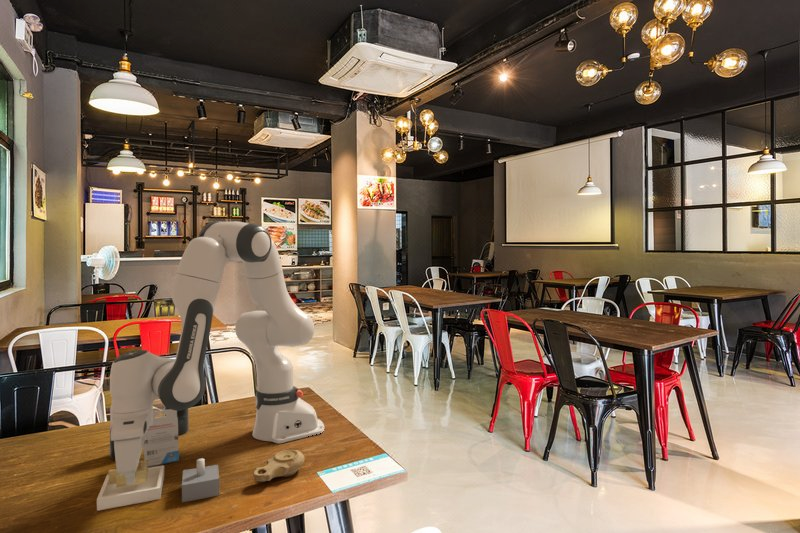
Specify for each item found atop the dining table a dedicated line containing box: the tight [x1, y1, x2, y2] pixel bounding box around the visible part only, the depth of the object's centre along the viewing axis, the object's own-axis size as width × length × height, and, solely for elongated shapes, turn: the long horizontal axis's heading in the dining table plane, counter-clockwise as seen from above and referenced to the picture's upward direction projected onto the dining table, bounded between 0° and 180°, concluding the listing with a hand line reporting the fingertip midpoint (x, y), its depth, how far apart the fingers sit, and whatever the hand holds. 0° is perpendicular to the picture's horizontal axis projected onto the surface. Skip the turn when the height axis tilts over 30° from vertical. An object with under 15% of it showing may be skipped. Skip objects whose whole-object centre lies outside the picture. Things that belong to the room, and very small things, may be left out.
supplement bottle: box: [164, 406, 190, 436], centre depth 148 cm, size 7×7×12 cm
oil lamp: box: [252, 449, 305, 482], centre depth 119 cm, size 11×14×5 cm
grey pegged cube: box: [181, 457, 220, 503], centre depth 112 cm, size 8×8×8 cm
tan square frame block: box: [108, 459, 149, 488], centre depth 111 cm, size 8×6×3 cm
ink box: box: [143, 409, 180, 468], centre depth 128 cm, size 9×5×15 cm, turn 117°
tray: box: [96, 464, 165, 511], centre depth 111 cm, size 13×13×3 cm
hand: (133, 476), depth 111 cm, fingers closed on tan square frame block, 6 cm apart
